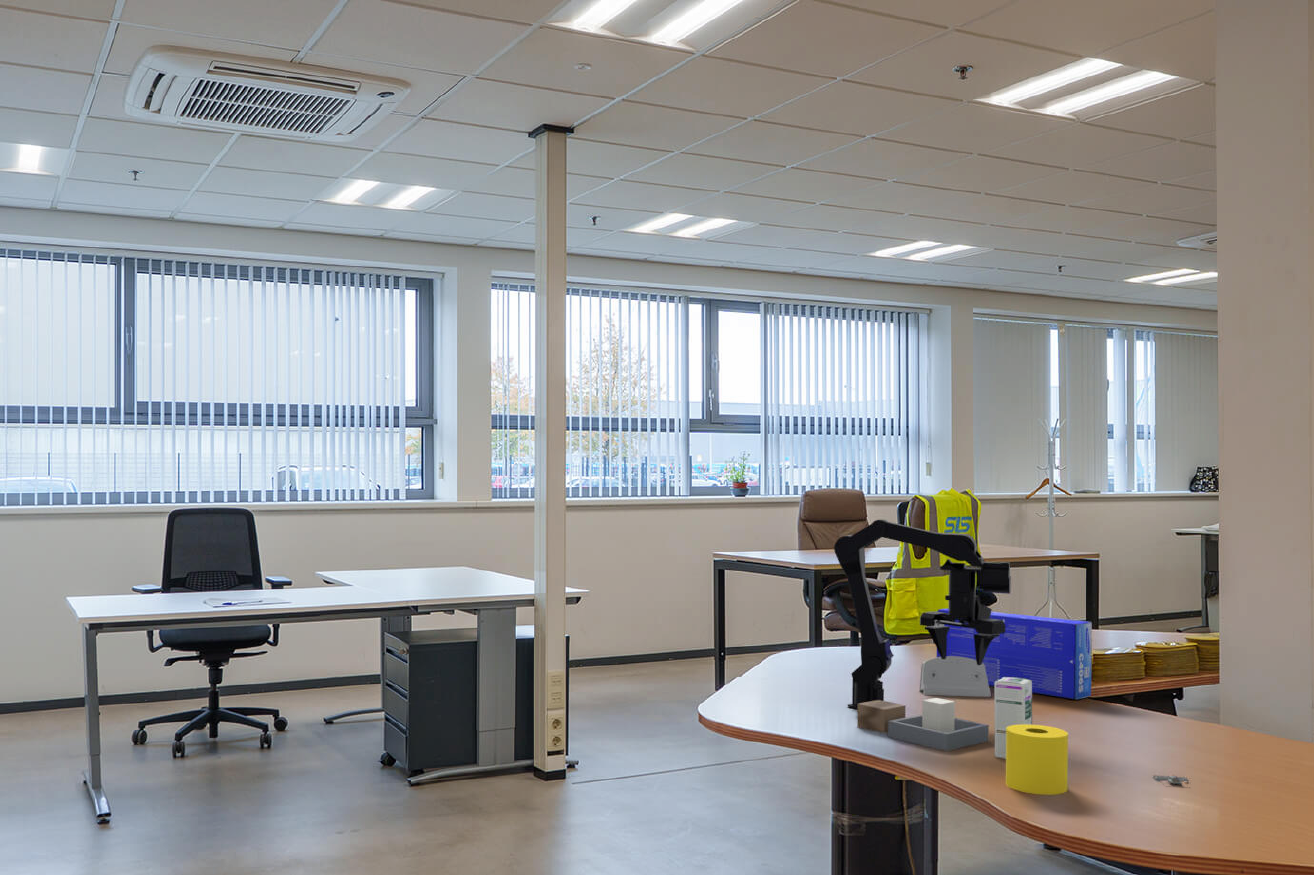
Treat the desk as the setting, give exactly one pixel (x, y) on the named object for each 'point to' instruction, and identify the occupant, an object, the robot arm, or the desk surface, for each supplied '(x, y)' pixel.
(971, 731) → the sorting tray
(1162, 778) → the grey flat piece
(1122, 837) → the desk surface
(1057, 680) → the toner cartridge box
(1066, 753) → the yellow paper roll
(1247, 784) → the desk surface
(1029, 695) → the syrup box
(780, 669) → the desk surface
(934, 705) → the small block
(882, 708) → the oversize block
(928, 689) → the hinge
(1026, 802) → the desk surface
